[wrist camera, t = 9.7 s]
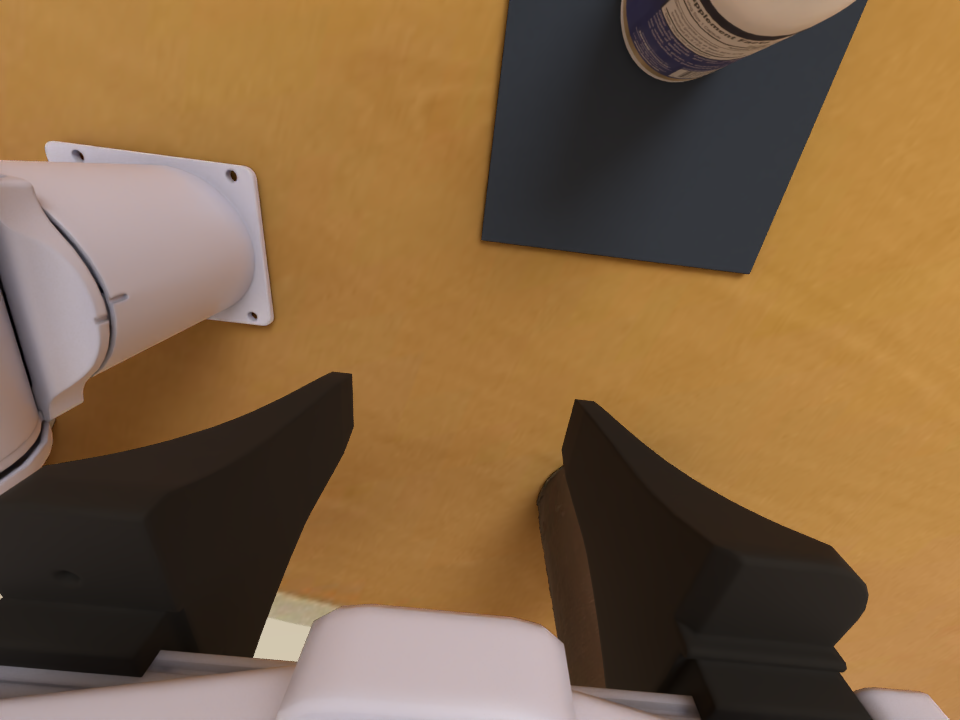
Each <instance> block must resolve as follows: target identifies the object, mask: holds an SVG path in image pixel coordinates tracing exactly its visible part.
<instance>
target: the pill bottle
mask: <svg viewBox="0 0 960 720" xmlns="http://www.w3.org/2000/svg"><path fill="white" fill-rule="evenodd" d="M854 1H856V0H622V1H621V27H622V33H623V38H624V41H625V44H626V47H627V49H628V51H629V53H630V55H631V57H632V59H633V60H634V61H635V63H636V64H637V65H638V66H639V67H640V68H641V69H642V70H643V71H644V72H646V73H647V74H648V75H650V76H652V77H654V78H656V79H659V80H662V81H667V82H684V81H689V80H693V79H696V78H699V77H702V76H704V75H707V74H709V73H712V72H714V71H716V70H718V69H720V68H723V67H725V66H727V65H729V64H731V63H734V62H736V61H738V60H740V59H743V58H745V57H747V56H749V55H751V54H754V53H756V52H758V51H760V50H762V49H764V48H767V47H769V46H771V45H773V44H775V43H777V42H780V41H782V40H784V39H786V38H789V37H790V36H793V35H795V34H797V33H799V32H802V31H805V30H807V29H809V28H810V27H812V26H814V25H816V24H818V23H820V22H822V21H824V20H826V19H828V18H829V17H831V16H833V15H835V14H837V13H838V12H840V11H841V10H843V9H845V8H846V7H848V6H849V5H850V4H852V3H853V2H854Z"/></svg>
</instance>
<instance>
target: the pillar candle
mask: <svg viewBox="0 0 960 720" xmlns="http://www.w3.org/2000/svg"><path fill="white" fill-rule="evenodd" d="M537 506H538V511H539V525H540V527H539V528H540V533H541V540H542V545H543V549H544V558H545V564H546V571H547V575H548V583H549V590H550V595H551V598H552V604H553V611H554V618H555V624H556V630H557V636H558V639H559V640H560V641H561V642H562V643H563V644H564V648H565V654H566V660H567V667H568V673H569V679H570V685H571V686H582V687H594V688H605V689H606V686H605V677H604V668H603V659H602V652H601V644H600V636H599V628H598V621H597V614H596V608H595V601H594V595H593V588H592V582H591V576H590V571H589V565H588V559H587V554H586V549H585V545H584V541H583V537H582V534H581V530H580V527H579V523H578V520H577V516H576V513H575V509H574V506H573V502H572V499H571V495H570V492H569V488H568V485H567V481H566V477H565V471H564V466H563V467H562V466H561V467H560V469H559V470H557V471H556V472H555V473H553V475H552V476H551V477H550V478H549V479H548V480H547V481H546V483H545V485H544V486H543V487H542V490H541V492H540V493H539V496H538V500H537Z"/></svg>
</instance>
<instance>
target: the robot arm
mask: <svg viewBox="0 0 960 720" xmlns="http://www.w3.org/2000/svg"><path fill="white" fill-rule="evenodd" d="M45 152H46V155H47V158H48V161H49V162H46V161H13V160H0V594H1V595H2V596H3V598H1V600H0V720H949V719H948V717H947V716H946V715H945V714H944V713H943V711H942V710H941V709H940V708H939V707H938V706H937V704H936V703H935V702H934V701H933V700H932V698H931V697H930V696H929V695H928V694H925V693H923V692H920V691H909V690H898V689H887V688H876V687H872V688H863V689H859V690H856V691H854V692H853V691H852V690H851V688H850V687H849V685H848V684H847V683H846V681H845V680H844V678H843V677H842V676H841V674H840V673H839V672H844V671H845V670H846V669H847V667H846V663H845V661H844V660H843V659H842V657H841V656H840V655H839V653H838V652H837V651H836V649H835V648H834V645H835V644H836V643H837V642H838V641H839V640H840V639H841V638H842V637H843V636H844V634H845V633H846V632H847V631H848V630H849V629H850V628H851V627H852V626H853V625H854V624H855V623H856V621H857V620H858V619H859V618H860V616H861V615H862V613H863V612H864V611H865V608H866V604H867V600H868V595H869V594H868V590H867V586H866V584H865V583H864V582H863V580H862V579H861V578H860V577H859V576H858V575H857V574H856V573H855V572H854V570H853V569H852V568H851V567H850V566H849V565H848V564H847V563H846V562H845V560H844V559H843V558H842V557H841V556H840V555H839V554H838V553H837V552H836V550H835V549H834V548H833V547H832V546H830V545H828V544H825V543H823V542H820V541H818V540H816V539H813V538H811V537H808V536H806V535H804V534H801V533H799V532H796V531H794V530H792V529H789V528H787V527H784V526H782V525H780V524H777V523H775V522H773V521H771V520H769V519H767V518H765V517H762V516H760V515H758V514H756V513H754V512H752V511H750V510H748V509H746V508H744V507H742V506H740V505H738V504H736V503H734V502H732V501H730V500H728V499H727V498H725V497H723V496H721V495H720V494H718V493H716V492H714V491H712V490H711V489H709V488H707V487H705V486H704V485H702V484H700V483H699V482H697V481H696V480H694V479H692V478H691V477H689V476H688V475H686V474H685V473H683V472H682V471H680V470H679V469H677V468H676V467H674V466H673V465H671V464H670V463H668V462H667V461H666V460H664V459H663V458H662V457H660V456H659V455H658V454H656V453H655V452H654V451H652V450H651V449H650V448H649V447H647V446H646V445H645V444H644V443H642V442H641V441H640V440H639V439H637V438H636V437H635V436H634V435H633V434H632V433H630V432H629V431H628V430H627V429H626V428H625V427H623V426H622V425H621V424H620V423H619V422H618V421H617V420H615V419H614V418H613V417H612V416H611V415H610V414H609V413H608V412H606V411H605V410H604V409H603V408H602V407H601V406H599V405H598V404H597V403H595V402H594V401H586V400H577V399H575V402H574V405H573V409H572V413H571V417H570V420H569V424H568V428H567V432H566V435H565V439H564V443H563V446H562V456H563V464H564V471H565V477H566V481H567V485H568V488H569V492H570V495H571V499H572V502H573V506H574V509H575V513H576V516H577V520H578V523H579V527H580V530H581V534H582V537H583V541H584V545H585V549H586V554H587V559H588V565H589V571H590V576H591V582H592V588H593V595H594V601H595V608H596V614H597V621H598V628H599V636H600V644H601V652H602V659H603V668H604V677H605V686H606V689H605V688H594V687H582V686H571V685H570V679H569V673H568V667H567V660H566V654H565V648H564V644H563V643H562V642H561V641H560V640H559V639H558V638H556V637H555V636H554V635H553V634H552V633H551V632H549V631H548V630H547V629H546V628H545V627H543V626H542V625H541V624H538V623H534V622H530V621H526V620H523V619H519V618H515V617H508V616H497V615H486V614H476V613H465V612H454V611H443V610H432V609H422V608H411V607H400V606H389V605H378V604H362V605H348V606H341V607H339V608H337V609H335V610H333V611H331V612H330V613H328V614H326V615H324V616H322V617H320V618H318V619H317V620H315V621H313V624H312V626H311V629H310V632H309V634H308V637H307V639H306V642H305V644H304V647H303V649H302V652H301V654H300V657H299V660H298V662H294V661H283V660H270V659H259V658H253V656H254V653H255V650H256V647H257V645H258V642H259V639H260V636H261V633H262V630H263V628H264V625H265V622H266V619H267V617H268V614H269V612H270V609H271V606H272V604H273V601H274V599H275V596H276V593H277V591H278V588H279V586H280V583H281V581H282V578H283V576H284V573H285V571H286V568H287V566H288V563H289V561H290V558H291V556H292V553H293V551H294V549H295V546H296V544H297V542H298V539H299V537H300V535H301V532H302V530H303V528H304V525H305V523H306V521H307V519H308V517H309V515H310V513H311V511H312V510H313V508H314V506H315V504H316V502H317V501H318V499H319V497H320V495H321V493H322V492H323V490H324V488H325V486H326V484H327V483H328V481H329V479H330V477H331V476H332V474H333V472H334V470H335V468H336V466H337V465H338V463H339V461H340V459H341V457H342V455H343V453H344V451H345V449H346V446H347V444H348V441H349V438H350V436H351V433H352V430H353V427H354V420H353V388H352V374H348V373H339V372H331V373H329V374H327V375H325V376H323V377H321V378H319V379H317V380H315V381H313V382H311V383H309V384H307V385H305V386H304V387H302V388H300V389H298V390H296V391H294V392H292V393H290V394H288V395H286V396H285V397H283V398H280V399H278V400H276V401H274V402H272V403H270V404H268V405H266V406H264V407H261V408H259V409H257V410H255V411H253V412H251V413H248V414H246V415H243V416H241V417H239V418H236V419H233V420H231V421H228V422H225V423H223V424H220V425H217V426H214V427H212V428H209V429H205V430H202V431H199V432H196V433H192V434H189V435H186V436H183V437H179V438H176V439H173V440H169V441H165V442H161V443H158V444H154V445H150V446H146V447H141V448H137V449H133V450H128V451H124V452H119V453H114V454H109V455H104V456H99V457H93V458H87V459H82V460H76V461H70V462H65V463H59V464H53V465H46V466H43V464H44V463H45V461H46V459H47V458H48V456H49V454H50V451H51V448H52V444H53V436H52V430H51V427H50V424H49V421H51V420H52V419H54V418H56V417H58V416H60V415H61V414H63V413H65V412H67V411H68V410H70V409H72V408H74V407H76V406H77V405H79V404H81V403H83V402H84V397H83V389H84V385H85V383H86V381H87V380H88V379H89V378H91V377H93V376H95V375H97V374H99V373H101V372H103V371H105V370H107V369H109V368H111V367H113V366H115V365H117V364H119V363H121V362H123V361H125V360H127V359H129V358H131V357H133V356H134V355H136V354H138V353H140V352H142V351H144V350H146V349H148V348H150V347H152V346H154V345H156V344H158V343H160V342H162V341H164V340H166V339H168V338H170V337H172V336H174V335H176V334H178V333H180V332H182V331H183V330H185V329H187V328H189V327H191V326H193V325H195V324H197V323H199V322H201V321H203V320H205V319H209V320H218V321H226V322H235V323H244V324H252V325H261V326H267V325H269V324H270V323H272V322H273V320H274V313H273V305H272V297H271V288H270V280H269V272H268V264H267V256H266V248H265V240H264V232H263V224H262V216H261V208H260V200H259V192H258V183H257V177H256V174H255V173H254V171H253V170H252V169H251V168H249V167H247V166H242V165H235V164H227V163H219V162H212V161H204V160H196V159H189V158H181V157H174V156H166V155H158V154H151V153H143V152H135V151H128V150H120V149H113V148H105V147H97V146H90V145H82V144H74V143H67V142H59V141H48V142H47V143H46V145H45ZM80 152H81V153H82V155H83V156H84V161H83V160H82V158H81V157H80ZM232 171H234V172H235V173H236V175H237V180H236V181H234V180H233V179H232V178H231V172H232ZM252 312H253V313H255V314H256V315H257V319H256V318H254V317H253V316H252V314H251V313H252ZM42 466H43V467H42ZM41 467H42V468H41Z"/></svg>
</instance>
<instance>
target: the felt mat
mask: <svg viewBox="0 0 960 720" xmlns="http://www.w3.org/2000/svg"><path fill="white" fill-rule="evenodd" d="M621 1H622V0H509V7H508V16H507V24H506V33H505V41H504V50H503V59H502V67H501V76H500V84H499V93H498V101H497V110H496V118H495V127H494V136H493V144H492V153H491V161H490V170H489V178H488V187H487V195H486V204H485V213H484V221H483V230H482V238H481V240H484V241H492V242H500V243H507V244H515V245H523V246H531V247H539V248H547V249H555V250H563V251H570V252H578V253H586V254H594V255H602V256H610V257H618V258H625V259H633V260H641V261H649V262H657V263H665V264H673V265H681V266H688V267H696V268H704V269H712V270H720V271H728V272H736V273H743V274H750V272H751V270H752V267H753V265H754V263H755V260H756V258H757V256H758V253H759V251H760V249H761V246H762V244H763V242H764V239H765V237H766V235H767V232H768V230H769V228H770V226H771V223H772V221H773V219H774V216H775V214H776V212H777V209H778V207H779V205H780V202H781V200H782V198H783V195H784V193H785V191H786V188H787V186H788V184H789V181H790V179H791V177H792V174H793V172H794V170H795V168H796V165H797V163H798V161H799V158H800V156H801V154H802V151H803V149H804V147H805V144H806V142H807V140H808V137H809V135H810V133H811V130H812V128H813V126H814V123H815V121H816V119H817V117H818V114H819V112H820V110H821V107H822V105H823V103H824V100H825V98H826V96H827V93H828V91H829V89H830V86H831V84H832V82H833V79H834V77H835V75H836V72H837V70H838V68H839V65H840V63H841V61H842V59H843V56H844V54H845V52H846V49H847V47H848V45H849V42H850V40H851V38H852V35H853V33H854V31H855V28H856V26H857V24H858V21H859V19H860V17H861V14H862V12H863V10H864V7H865V5H866V3H867V1H868V0H856V1H854V2H853V3H852V4H850V5H849V6H848V7H846V8H845V9H843V10H841V11H840V12H838V13H837V14H835V15H833V16H831V17H829V18H828V19H826V20H824V21H822V22H820V23H818V24H816V25H814V26H812V27H810V28H809V29H807V30H805V31H802V32H799V33H797V34H795V35H793V36H790V37H789V38H786V39H784V40H782V41H780V42H777V43H775V44H773V45H771V46H769V47H767V48H764V49H762V50H760V51H758V52H756V53H754V54H751V55H749V56H747V57H745V58H743V59H740V60H738V61H736V62H734V63H731V64H729V65H727V66H725V67H723V68H720V69H718V70H716V71H714V72H712V73H709V74H707V75H704V76H702V77H699V78H696V79H693V80H689V81H684V82H667V81H662V80H659V79H656V78H654V77H652V76H650V75H648V74H647V73H646V72H644V71H643V70H642V69H641V68H640V67H639V66H638V65H637V64H636V63H635V61H634V60H633V59H632V57H631V55H630V53H629V51H628V49H627V47H626V44H625V41H624V38H623V33H622V27H621Z"/></svg>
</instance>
